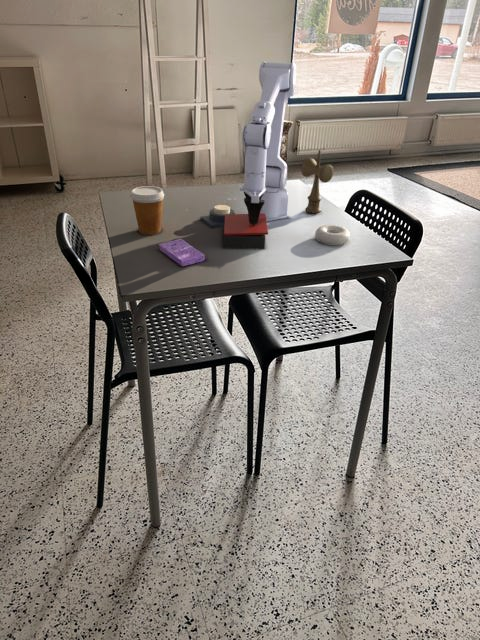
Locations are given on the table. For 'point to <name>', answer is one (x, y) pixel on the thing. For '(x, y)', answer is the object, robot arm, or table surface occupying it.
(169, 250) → the sponge
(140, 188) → the disposable coffee cup
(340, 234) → the donut
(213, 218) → the switch block
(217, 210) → the power button
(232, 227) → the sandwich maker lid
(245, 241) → the black shallow box
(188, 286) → the table surface
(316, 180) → the kendama
